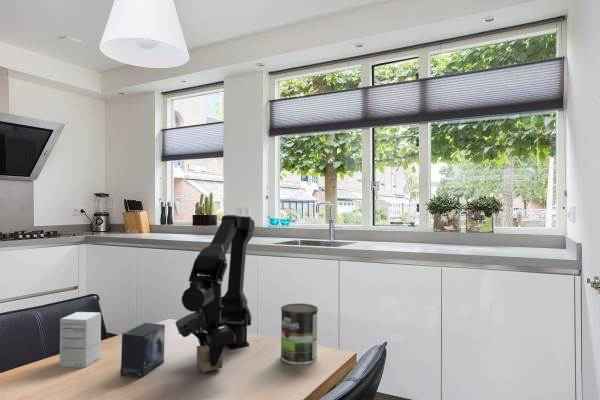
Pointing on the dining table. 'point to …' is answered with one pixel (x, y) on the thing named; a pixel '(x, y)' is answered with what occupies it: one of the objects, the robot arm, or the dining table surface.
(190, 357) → the dining table surface
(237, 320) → the robot arm
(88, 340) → the supplement box
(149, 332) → the small box
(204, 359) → the walnut cube
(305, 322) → the coffee can
